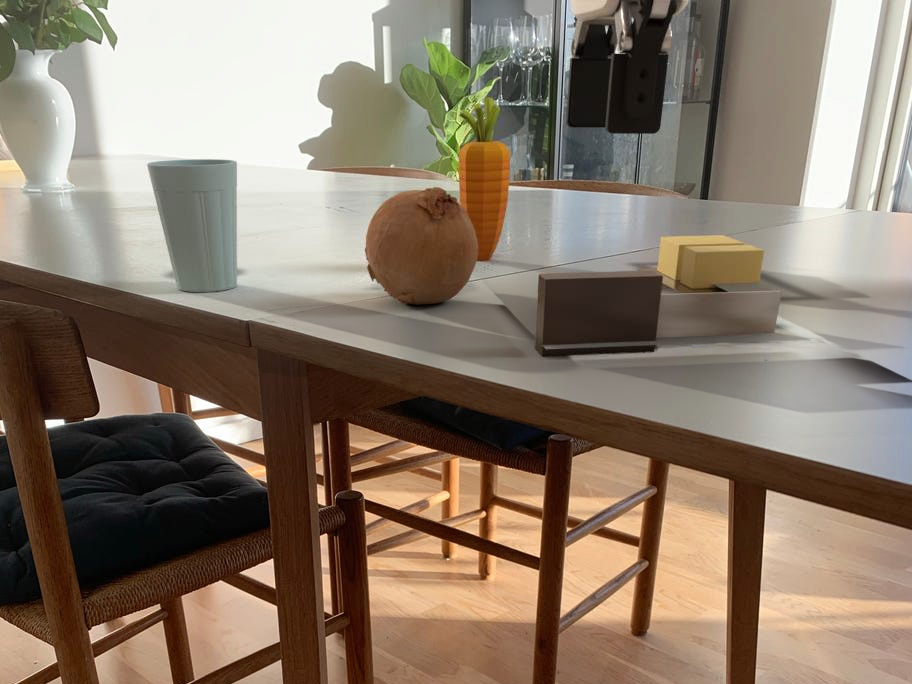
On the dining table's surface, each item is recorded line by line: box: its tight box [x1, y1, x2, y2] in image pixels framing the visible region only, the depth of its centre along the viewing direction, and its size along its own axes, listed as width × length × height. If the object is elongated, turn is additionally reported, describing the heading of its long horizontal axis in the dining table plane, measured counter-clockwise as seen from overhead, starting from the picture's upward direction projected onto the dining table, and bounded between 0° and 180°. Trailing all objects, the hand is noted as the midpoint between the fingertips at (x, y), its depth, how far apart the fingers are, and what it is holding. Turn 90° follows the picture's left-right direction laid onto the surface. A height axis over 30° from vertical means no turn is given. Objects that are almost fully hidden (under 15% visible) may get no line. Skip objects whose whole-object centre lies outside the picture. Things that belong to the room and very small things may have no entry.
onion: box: [364, 186, 478, 306], centre depth 79 cm, size 10×9×10 cm
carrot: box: [458, 96, 511, 262], centre depth 92 cm, size 5×5×15 cm
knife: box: [534, 270, 782, 357], centre depth 65 cm, size 17×2×5 cm, turn 97°
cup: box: [146, 158, 238, 293], centre depth 85 cm, size 8×8×10 cm
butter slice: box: [680, 244, 765, 289], centre depth 82 cm, size 6×3×3 cm, turn 97°
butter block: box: [657, 234, 745, 280], centre depth 86 cm, size 6×5×3 cm
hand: (609, 129), depth 60 cm, fingers open, 9 cm apart
